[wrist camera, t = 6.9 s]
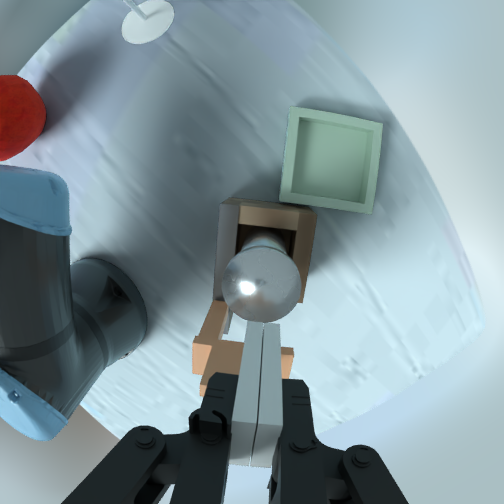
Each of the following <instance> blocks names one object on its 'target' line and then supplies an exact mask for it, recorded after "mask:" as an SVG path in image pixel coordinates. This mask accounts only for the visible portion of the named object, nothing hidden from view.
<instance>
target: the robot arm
mask: <svg viewBox="0 0 504 504" xmlns="http://www.w3.org/2000/svg"><path fill="white" fill-rule="evenodd" d="M71 233H72V227H71V225H70V217H69V190H68V186H67V184H66V182H65V181H64V180H63V179H62V178H61V177H60V176H58V175H57V174H54V173H51V172H47V171H42V170H37V169H31V168H24V167H17V166H9V165H0V417H1V418H2V419H4V420H5V421H6V422H7V423H8V424H10V425H11V426H12V427H13V428H15V429H16V430H18V431H19V432H21V433H22V434H24V435H26V436H28V437H30V438H32V439H35V440H38V441H49V440H51V439H53V438H54V437H55V436H56V435H57V434H58V433H59V432H60V430H61V429H62V428H63V427H64V426H65V425H67V423H68V419H69V418H70V416H71V415H72V414H73V412H74V411H75V409H76V408H77V406H78V405H79V404H80V402H81V401H82V399H83V398H84V397H85V395H86V394H87V392H88V391H89V390H90V388H91V387H92V385H93V384H94V383H95V381H96V380H97V379H98V377H99V376H100V374H101V373H102V372H103V370H104V369H105V368H106V367H107V366H109V365H111V364H113V363H114V362H116V361H117V360H119V359H122V358H125V357H126V356H128V355H130V354H131V353H132V352H133V351H134V350H135V349H136V348H137V346H138V345H139V343H140V342H141V341H142V339H143V337H144V335H145V332H146V328H147V314H146V309H145V305H144V302H143V300H142V297H141V295H140V293H139V291H138V290H137V288H136V287H135V285H134V284H133V282H132V281H131V280H130V279H129V278H128V277H127V276H126V275H125V274H124V273H123V272H122V271H121V270H120V269H118V268H117V267H115V266H114V265H112V264H110V263H108V262H106V261H103V260H100V259H95V258H86V259H82V260H79V261H77V262H75V263H73V264H72V265H70V235H71ZM262 334H263V336H262ZM251 451H252V452H251ZM250 457H251V463H250V466H252V467H264V468H271V466H272V474H271V478H270V481H269V484H268V487H267V488H268V489H269V504H409V503H408V502H407V500H406V498H405V497H404V495H403V494H402V492H401V490H400V488H399V487H398V485H397V484H396V482H395V480H394V479H393V477H392V475H391V474H390V472H389V470H388V469H387V467H386V465H385V464H384V462H383V461H382V459H381V457H380V456H379V454H378V453H377V452H376V451H375V450H374V449H373V448H371V447H369V446H366V445H354V446H352V447H349V448H348V449H347V450H346V451H343V450H339V449H334V448H331V447H328V446H326V445H324V444H322V443H321V442H320V441H319V440H318V439H317V437H316V436H315V432H314V425H313V417H312V409H311V402H310V395H309V388H308V387H307V385H306V384H305V382H304V381H303V380H298V379H283V378H282V371H281V343H280V324H273V323H264V329H263V322H254V321H248V322H247V329H246V335H245V341H244V348H243V354H242V360H241V366H240V373H239V375H236V374H228V373H221V372H215V373H214V374H213V375H212V376H211V377H210V378H209V380H208V384H207V387H206V390H205V394H204V397H203V401H202V404H201V408H199V409H197V410H195V411H194V412H192V413H191V415H190V416H189V430H188V431H187V432H184V433H180V434H167V435H163V434H162V432H161V431H159V430H158V429H156V428H155V427H151V426H138V427H134V428H133V429H131V430H130V431H128V433H127V434H126V435H125V436H124V437H123V438H122V439H121V440H120V441H119V442H118V444H117V445H116V446H115V447H114V448H113V449H112V450H111V451H110V452H109V453H108V454H107V455H106V457H105V458H104V459H103V460H102V461H101V462H100V463H99V464H98V465H97V466H96V467H95V468H94V469H93V471H92V472H91V473H90V474H89V475H88V476H87V477H86V478H85V479H84V480H83V481H82V482H81V483H80V484H79V485H78V486H77V487H76V489H75V490H74V491H73V492H72V493H71V494H70V495H69V496H68V497H67V498H66V499H65V500H64V501H63V502H62V503H61V504H158V503H159V501H160V500H161V498H162V497H163V496H164V494H165V492H166V491H167V490H168V488H169V486H170V485H171V484H175V486H174V490H173V493H172V497H171V501H170V504H223V502H224V495H225V488H226V481H227V474H228V466H229V464H233V465H241V466H249V462H250Z"/></svg>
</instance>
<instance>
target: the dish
mask: <svg viewBox="0 0 504 504" xmlns="http://www.w3.org/2000/svg"><path fill="white" fill-rule="evenodd" d="M382 129H383V124H382V123H377V122H373V121H369V120H365V119H360V118H356V117H351V116H346V115H341V114H336V113H331V112H325V111H320V110H314V109H307V108H300V107H293V106H290V109H289V113H288V122H287V131H286V140H285V149H284V158H283V167H282V176H281V184H280V192H279V201H281V202H288V203H296V204H304V205H311V206H318V207H325V208H332V209H339V210H345V211H351V212H358V213H364V214H370V215H372V210H373V204H374V198H375V191H376V184H377V176H378V168H379V160H380V151H381V141H382Z"/></svg>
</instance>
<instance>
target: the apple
mask: <svg viewBox="0 0 504 504" xmlns="http://www.w3.org/2000/svg"><path fill="white" fill-rule="evenodd" d="M45 121H46V108H45V105H44V103H43V100H42V98H41V97H40V95H39V94H38V93H37V92H36V90H35V89H34V88H33V86H32V85H31V84H30V83H29V82H28V81H27V80H25V79H23V78H21V77H19V76H17V75H1V76H0V161H5V160H7V159H9V158H11V157H13V156H15V155H17V154H19V153H20V152H22V151H23V150H24V149H26V148H27V147H28V146H29V145H30V144H32V143H33V142H34V141H35V140H36V139H37V137H38V136H39V135H40V133H41V132H42V130H43V128H44V125H45Z"/></svg>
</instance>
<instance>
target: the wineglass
mask: <svg viewBox="0 0 504 504" xmlns="http://www.w3.org/2000/svg"><path fill="white" fill-rule="evenodd" d="M123 1H124V2H125V3H126V4H127V5H128V6H129V7H130V8H131V9H132V10H131V11H130V12H129V13H128V14H127V16H126V18H125V19H124V21H123V24H122V28H121V30H122V36H123V37H124V39H125V40H126V41H128V42H129V43H133V44H144V43H148V42H150V41H153V40H155V39H156V38H158V37H159V36H161V35H162V34H163V33H164V32H165V31H166V30H167V29H168V28H169V27H170V25H171V23H172V22H173V18H174V9H173V7H172V6H171V4H170V3H168V2H166V1H164V0H149V1H146V2H144V3H141V4H139V5H138V6H137V5H136V4H135V3H134V2H133V1H132V0H123Z"/></svg>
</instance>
